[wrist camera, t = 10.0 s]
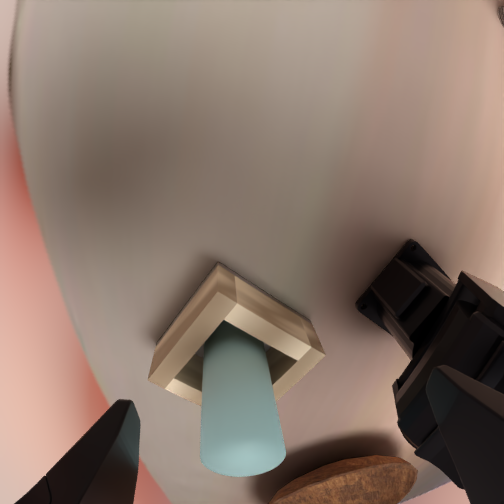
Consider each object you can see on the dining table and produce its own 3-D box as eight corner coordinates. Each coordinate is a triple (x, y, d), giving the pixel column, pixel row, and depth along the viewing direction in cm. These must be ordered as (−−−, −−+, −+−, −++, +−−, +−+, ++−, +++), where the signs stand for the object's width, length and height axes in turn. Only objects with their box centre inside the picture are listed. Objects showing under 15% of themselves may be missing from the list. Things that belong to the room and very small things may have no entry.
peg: (273, 331, 22) (303, 448, 13) (239, 367, 23) (251, 482, 14) (226, 303, 21) (232, 424, 12) (193, 343, 22) (184, 462, 13)
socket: (310, 320, 23) (325, 355, 19) (244, 388, 25) (247, 425, 21) (218, 261, 20) (217, 291, 17) (156, 343, 22) (147, 380, 19)
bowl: (413, 407, 29) (432, 440, 24) (395, 484, 37) (405, 507, 32) (236, 459, 29) (239, 498, 24) (275, 519, 37) (279, 544, 32)
